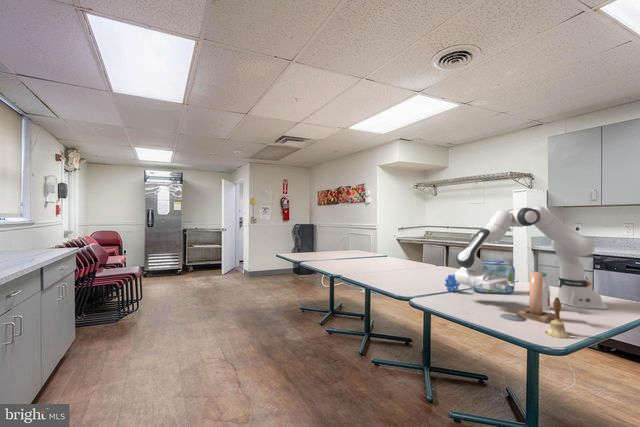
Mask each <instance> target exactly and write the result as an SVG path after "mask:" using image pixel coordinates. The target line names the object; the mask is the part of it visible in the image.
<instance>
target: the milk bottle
mask: <svg viewBox="0 0 640 427" xmlns="http://www.w3.org/2000/svg"><path fill="white" fill-rule="evenodd" d="M542 273H543V303H542V311H547V310H548V311H549V310H551V309H550V308H551V302H550V301H551V298H550V296H551V293H550V292H551V290H550V286H549V283H548V282H547V272H542Z"/></svg>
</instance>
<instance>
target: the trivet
mask: <svg viewBox="0 0 640 427" xmlns="http://www.w3.org/2000/svg"><path fill="white" fill-rule="evenodd" d="M499 317H500V318H501V319H504V320H508V321H511V322H520V323H521V322H526V321H527V320H528V319H526V318H523V317H519V316H517V314H512V313H502V314H500V315H499Z"/></svg>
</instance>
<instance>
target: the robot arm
mask: <svg viewBox="0 0 640 427" xmlns="http://www.w3.org/2000/svg"><path fill="white" fill-rule="evenodd" d="M533 225H534V226H535V228H536V229H538V231H540V232H541V233H542V234H543V235H544V236H545V237H547V238H548V239H549V240H551V244H550V245H551V248H552V249H553V250H554V251H555V254H556V257H557V260H558V265H559V276H558V282H557V284H558V293H557V295H556V296H557V298H559V300H560V303H561V304H563V305H568V306H570V307H574V308H585V309H598V310H607V309H609V306H608V304H606V303H604V302H603V299H602V297H601V295H600V294H599V293H597V292H596V291H595V290H594V289H592V288H591V287H592V282H590V281H588V280H586V279H585V266H584V264H583V263H582V262H581V260H580V257H586V256H591V255H592V254H593V253H594V251H595V243H594V241H592V240H591V239H589V238H586V236H585V237H584V236H582V235H581V234H580V233H578V232H577V231H575V230H573V229H572V228H570V227H569V226H567V225H566V224H565V223H564V222H562V221H561V220H560V219H559V218H558V217H557V216H555V214H553V213H552V212H551V211H549V210H548V209H546V208H545V207H543V206H541V205H536V206H533V207H519V208H518V207H517V208H514V209H510V210H504V209H503V210H501V209H500V210H498V211H496V212H495V213H494V214H493V215H492V216H491V217H490V219H489V220H488V222H487V223H486V225H485V226H484V227H483V228H481V229H480V230H478V231H476V232H477V233H476V234H475V235H474V236H473V237H472V238H471V239H470V241H469V242H468V243H467V244H466V245H465V247H463V249H461V250H460V251H459V252H458V253H457V254H456V263H457V265H458V266H460V268H459V269H457V270H456V271H455V272H454V274H455V279H456V281H457V282H458V283H459V284H460V285H462V286H465V287H470V286H474V287H476V288H480V289H485V290H486V289H488V290H493V289H496V288H501V289H506V286H507V285H509V286H514V287H516V286H515V285H516V283H515V282H514V283H512V282H509V279H507V278H504V277H500V276H494V274H486V273H482V271H483V268H484V264H483V262H482V261H483V260H481V259H480V258H479V257H477V255H476V254H477V252H479V249H480V248H481V247H482V245H484V243H486V242H491V243H493V242H495V243H496V242H499V241H501V240H502V239H503V238H504V237H505V235H506V234H507V232H508V230H509V229H510V227H515V228H516V227H517V228H523V227H530V226H533ZM590 286H591V287H590Z"/></svg>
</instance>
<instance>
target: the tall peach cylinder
mask: <svg viewBox="0 0 640 427" xmlns="http://www.w3.org/2000/svg"><path fill="white" fill-rule="evenodd" d="M542 303H543V273H542V272H541V271H529V307H528V308H529V314H534V315H538V316H542V311H543V310H542Z"/></svg>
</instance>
